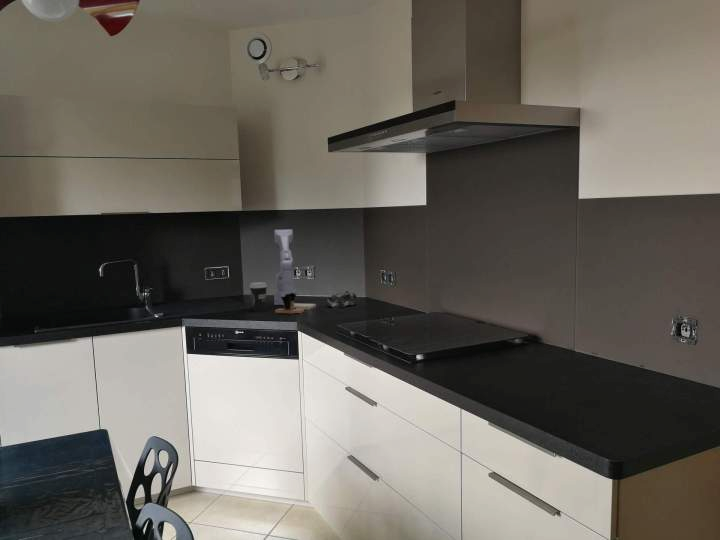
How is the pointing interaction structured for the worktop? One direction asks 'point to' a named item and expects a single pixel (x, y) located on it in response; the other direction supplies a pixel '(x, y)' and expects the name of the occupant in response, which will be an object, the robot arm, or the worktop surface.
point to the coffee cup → (258, 296)
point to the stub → (291, 310)
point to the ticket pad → (303, 306)
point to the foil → (342, 300)
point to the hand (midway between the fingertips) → (289, 308)
